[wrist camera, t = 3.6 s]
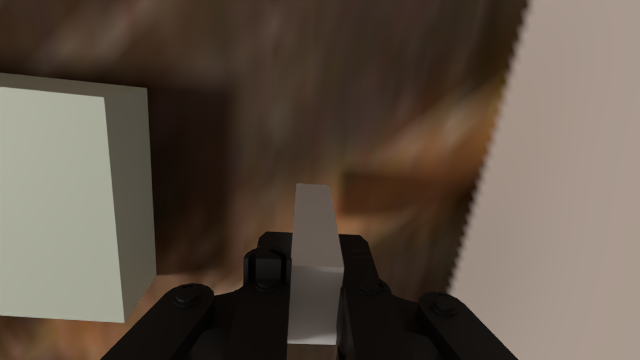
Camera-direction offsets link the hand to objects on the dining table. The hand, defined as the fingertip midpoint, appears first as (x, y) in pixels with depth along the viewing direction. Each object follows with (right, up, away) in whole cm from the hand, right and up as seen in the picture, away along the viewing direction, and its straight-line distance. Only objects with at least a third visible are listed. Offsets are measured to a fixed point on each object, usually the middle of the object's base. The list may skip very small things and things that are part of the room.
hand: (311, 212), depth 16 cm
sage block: (-14, +2, +1) cm, 14 cm away
